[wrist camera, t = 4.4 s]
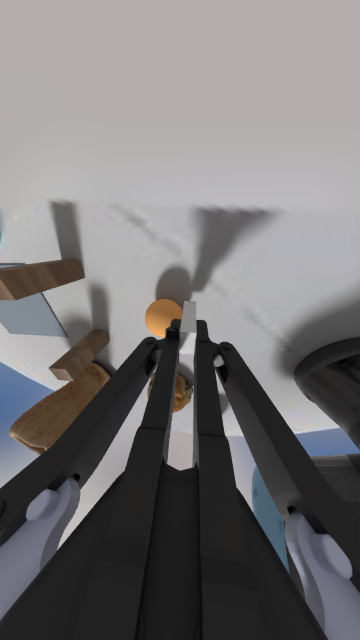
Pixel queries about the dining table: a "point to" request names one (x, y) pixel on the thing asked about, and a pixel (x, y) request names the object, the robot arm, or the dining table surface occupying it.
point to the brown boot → (58, 410)
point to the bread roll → (178, 392)
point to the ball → (162, 315)
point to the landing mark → (29, 316)
